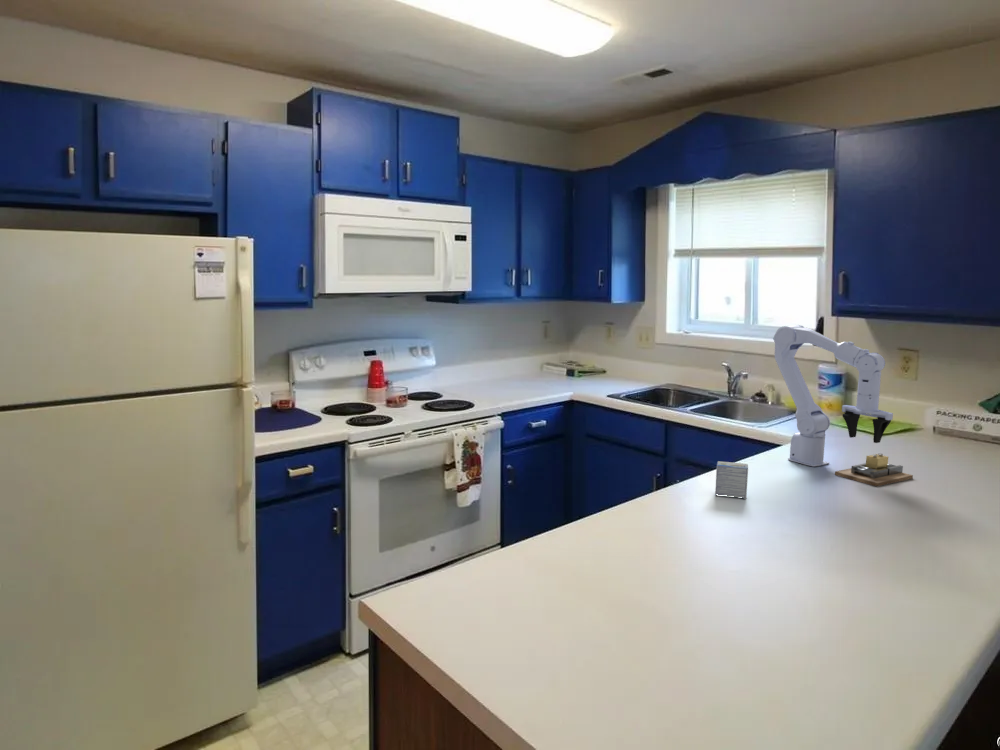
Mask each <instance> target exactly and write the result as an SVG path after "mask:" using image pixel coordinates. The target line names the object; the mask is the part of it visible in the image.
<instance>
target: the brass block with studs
mask: <svg viewBox="0 0 1000 750" xmlns="http://www.w3.org/2000/svg"><path fill="white" fill-rule="evenodd" d="M865 459H866V460H865V463H866V467H868V468H872V469H875V470H879V469H884V468H887V467H888V464H889V456H887V455H884V454H883V453H881V452H880V453H875V454H874V453H873V454H869V455H866V458H865Z"/></svg>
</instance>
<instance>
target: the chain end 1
mask: <svg viewBox="0 0 1000 750" xmlns="http://www.w3.org/2000/svg"><path fill="white" fill-rule="evenodd" d="M850 468H851V473H857V474H861V475H864V476H868V477H870V478H872V479H875V478H880V477H884V476H888V469H886V468H884V469H879V470H875V469H872V468H868V467H866V462H865V463H859V464H855V465H851V467H850Z"/></svg>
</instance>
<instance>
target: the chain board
mask: <svg viewBox="0 0 1000 750" xmlns="http://www.w3.org/2000/svg"><path fill="white" fill-rule="evenodd" d="M851 468H852V467H850V468H845V469H840V470H836V471H834V475H835V476H837V477H841V478H844V479H848V480H853V481H857V482H859V483H862V484H867V485H869V486H873V487H881V486H884V485H890V484H895V483H899V482H903V481H907V480H908V481H909V480H911V479H912V480H913V478H914V475H913V474H910V473H905V472H902V473H898V474H893V475H888V476H884V477H880V478H875V479H872V478H870V477H868V476H864V475H861V474H857V473H851Z"/></svg>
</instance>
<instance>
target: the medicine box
mask: <svg viewBox="0 0 1000 750" xmlns="http://www.w3.org/2000/svg"><path fill="white" fill-rule="evenodd" d="M715 474H716V475H715V489H714V490H715V491H714V495H715V494H718V495H727V496H734V497H742V498H746V499H747V495H748V494H747V493H748V492H747V491H748V477H749V476H748V475H749V464H748V463H741V462H734V461H733V462H731V461H730V462H729V461H719V460H718V461H717V462H716V473H715Z"/></svg>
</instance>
